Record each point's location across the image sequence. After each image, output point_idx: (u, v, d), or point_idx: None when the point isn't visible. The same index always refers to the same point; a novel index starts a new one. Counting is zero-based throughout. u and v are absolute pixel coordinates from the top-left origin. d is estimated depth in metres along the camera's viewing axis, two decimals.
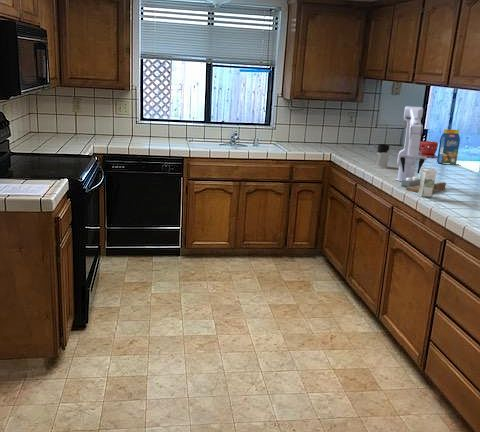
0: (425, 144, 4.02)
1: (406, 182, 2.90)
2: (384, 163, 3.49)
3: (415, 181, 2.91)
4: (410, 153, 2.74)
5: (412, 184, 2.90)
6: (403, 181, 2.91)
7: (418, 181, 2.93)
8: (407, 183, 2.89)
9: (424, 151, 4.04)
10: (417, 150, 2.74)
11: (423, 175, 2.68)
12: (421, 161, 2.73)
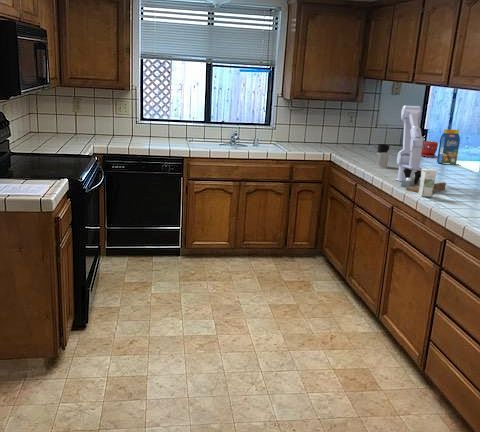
0: (425, 144, 4.02)
1: (406, 182, 2.90)
2: (384, 163, 3.49)
3: None
4: (409, 165, 2.91)
5: (412, 184, 2.90)
6: (403, 181, 2.91)
7: (418, 181, 2.93)
8: (407, 183, 2.89)
9: (424, 151, 4.04)
10: (415, 162, 2.88)
11: (423, 175, 2.68)
12: (415, 173, 2.88)
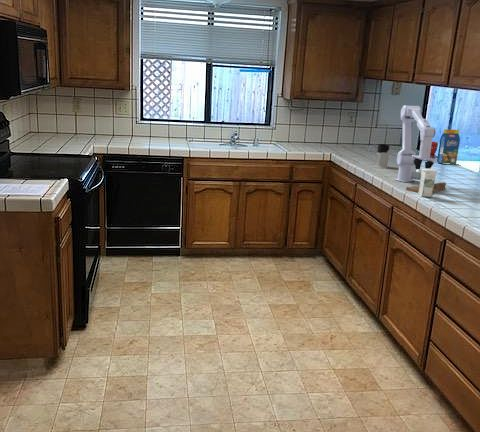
0: None
1: (416, 174, 2.83)
2: (384, 163, 3.49)
3: None
4: (419, 155, 2.85)
5: None
6: (413, 173, 2.85)
7: None
8: (417, 175, 2.83)
9: None
10: (425, 152, 2.82)
11: (423, 175, 2.68)
12: (426, 163, 2.82)
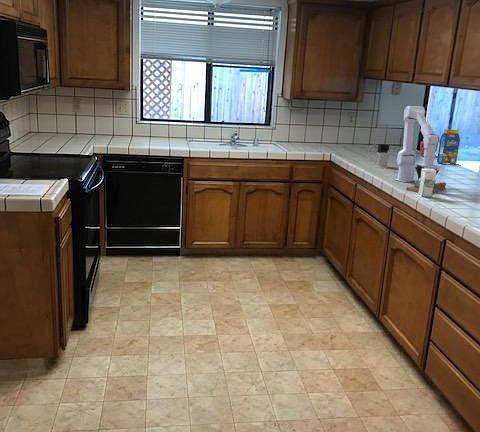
0: None
1: (419, 182, 2.83)
2: (384, 163, 3.49)
3: None
4: (423, 162, 2.84)
5: None
6: (416, 181, 2.84)
7: None
8: None
9: None
10: (429, 160, 2.81)
11: (423, 175, 2.68)
12: None
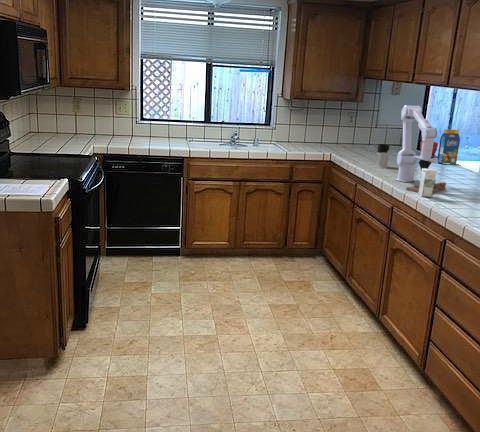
0: None
1: (419, 182, 2.83)
2: (384, 163, 3.49)
3: None
4: (421, 156, 2.84)
5: None
6: (416, 181, 2.84)
7: None
8: None
9: None
10: (427, 153, 2.81)
11: (423, 175, 2.68)
12: (423, 163, 2.83)
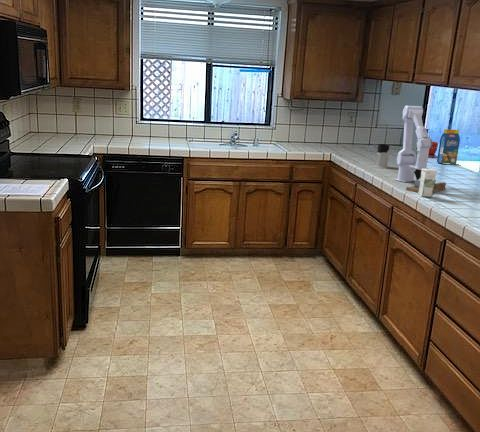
0: None
1: (419, 182, 2.83)
2: (384, 163, 3.49)
3: None
4: (416, 165, 2.87)
5: None
6: (416, 181, 2.84)
7: None
8: None
9: None
10: (422, 163, 2.84)
11: (423, 175, 2.68)
12: (419, 173, 2.86)
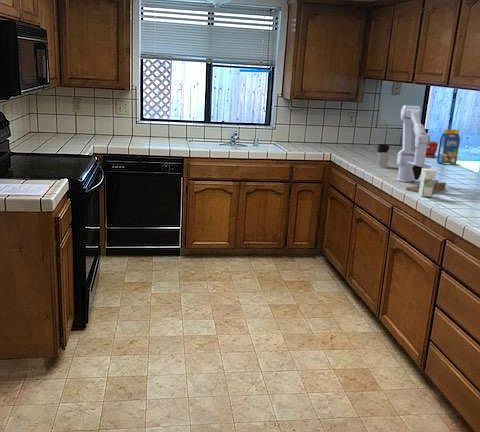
0: None
1: None
2: (384, 163, 3.49)
3: None
4: (414, 161, 2.88)
5: None
6: (419, 182, 2.83)
7: (435, 182, 2.85)
8: None
9: None
10: (420, 159, 2.85)
11: (423, 175, 2.68)
12: (416, 169, 2.87)
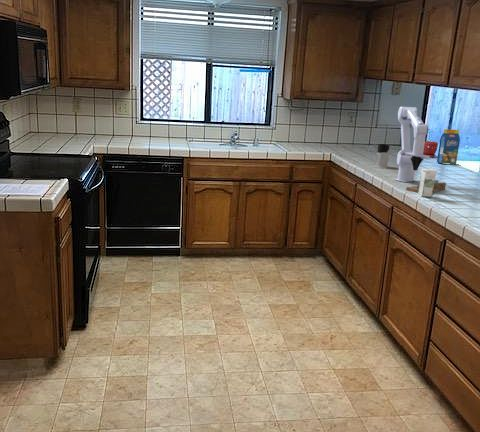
0: (425, 144, 4.02)
1: None
2: (384, 163, 3.49)
3: None
4: (413, 152, 2.89)
5: None
6: (419, 182, 2.83)
7: (435, 182, 2.85)
8: None
9: (424, 151, 4.04)
10: (419, 149, 2.86)
11: (423, 175, 2.68)
12: (415, 159, 2.88)
